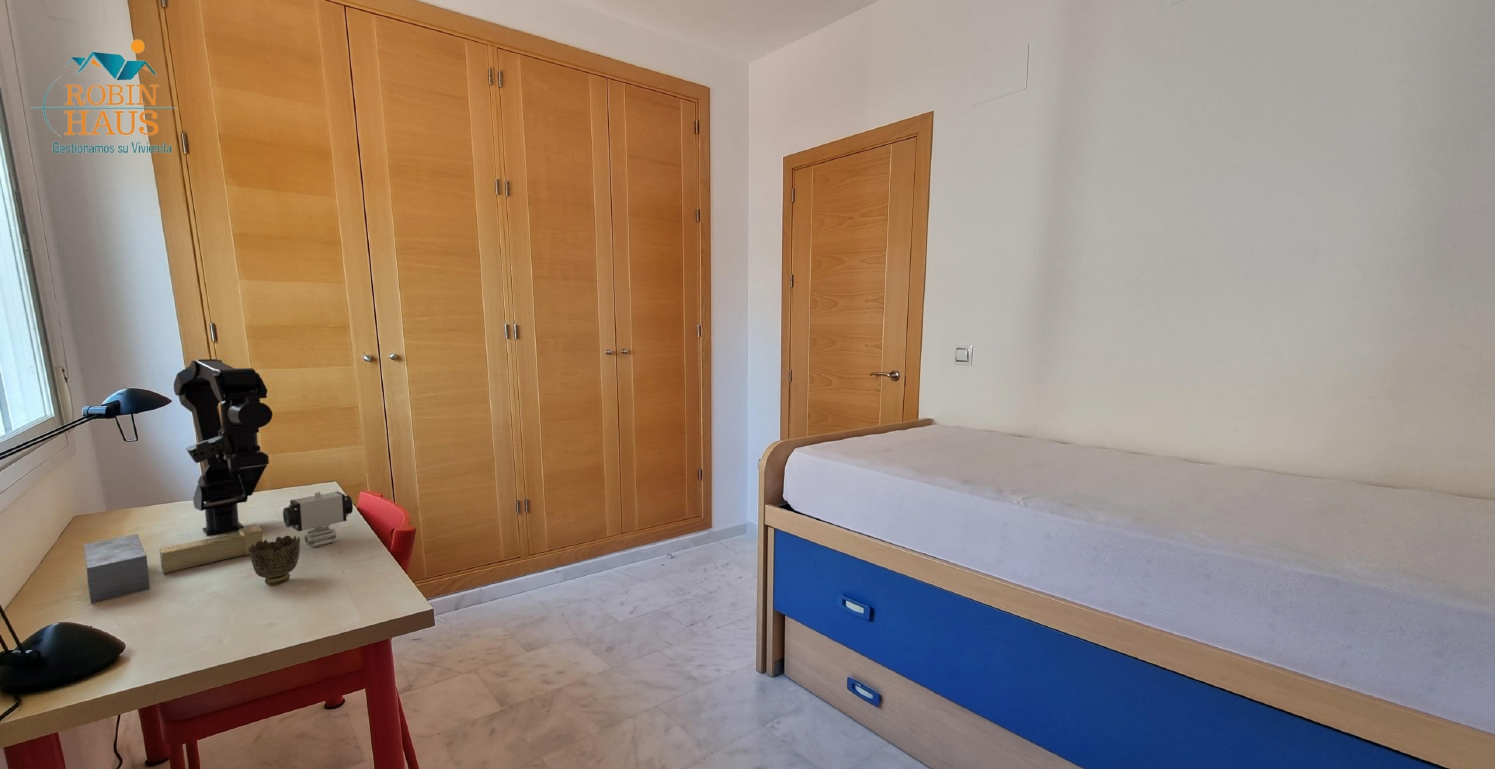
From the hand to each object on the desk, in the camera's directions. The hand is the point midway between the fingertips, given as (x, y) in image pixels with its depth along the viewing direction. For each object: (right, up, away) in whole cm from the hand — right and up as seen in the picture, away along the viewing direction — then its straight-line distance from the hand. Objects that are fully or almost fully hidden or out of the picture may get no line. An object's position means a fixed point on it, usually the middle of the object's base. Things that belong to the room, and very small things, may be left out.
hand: (244, 491), depth 123 cm
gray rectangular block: (-6, -14, -20) cm, 25 cm away
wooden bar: (+2, -13, -9) cm, 16 cm away
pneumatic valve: (+17, -12, 0) cm, 21 cm away
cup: (+25, -14, -19) cm, 34 cm away
